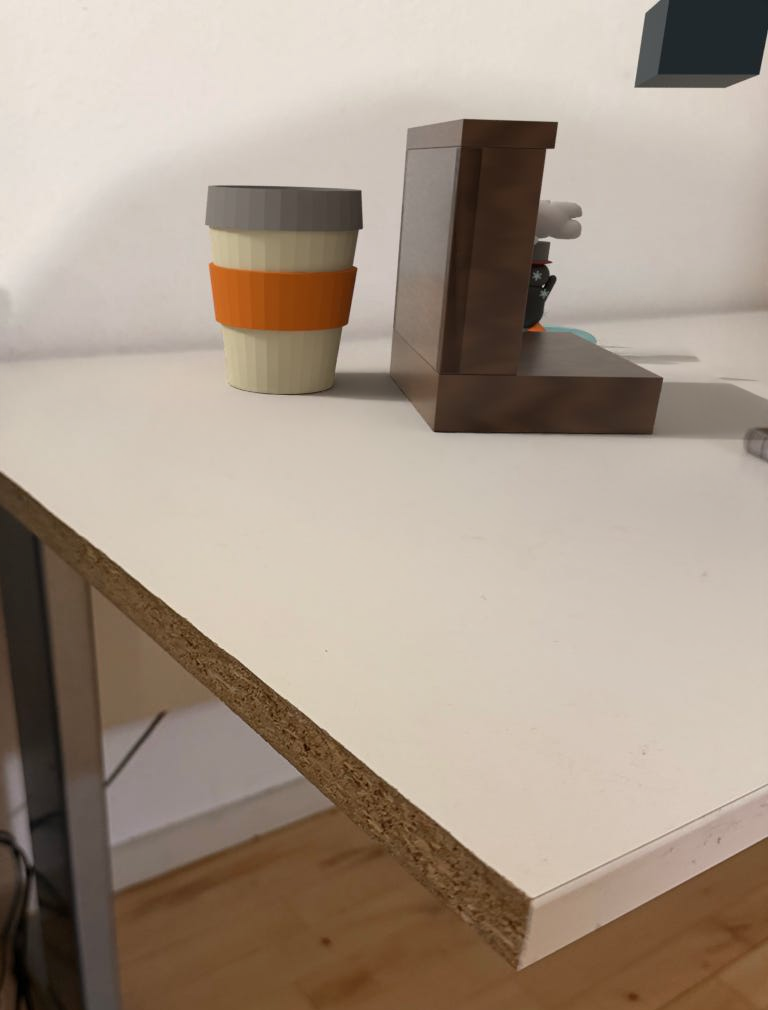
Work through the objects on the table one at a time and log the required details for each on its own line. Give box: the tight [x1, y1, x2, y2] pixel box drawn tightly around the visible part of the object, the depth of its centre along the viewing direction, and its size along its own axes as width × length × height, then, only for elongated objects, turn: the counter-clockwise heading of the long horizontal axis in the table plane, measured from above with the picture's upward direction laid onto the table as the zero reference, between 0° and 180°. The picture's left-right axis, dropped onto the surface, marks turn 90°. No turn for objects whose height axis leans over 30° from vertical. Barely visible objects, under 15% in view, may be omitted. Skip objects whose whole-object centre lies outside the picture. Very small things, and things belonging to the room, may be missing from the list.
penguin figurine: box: [523, 199, 598, 345], centre depth 94 cm, size 20×11×15 cm, turn 78°
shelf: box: [389, 118, 664, 435], centre depth 72 cm, size 16×20×20 cm
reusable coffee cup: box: [204, 184, 364, 395], centre depth 78 cm, size 12×13×15 cm
